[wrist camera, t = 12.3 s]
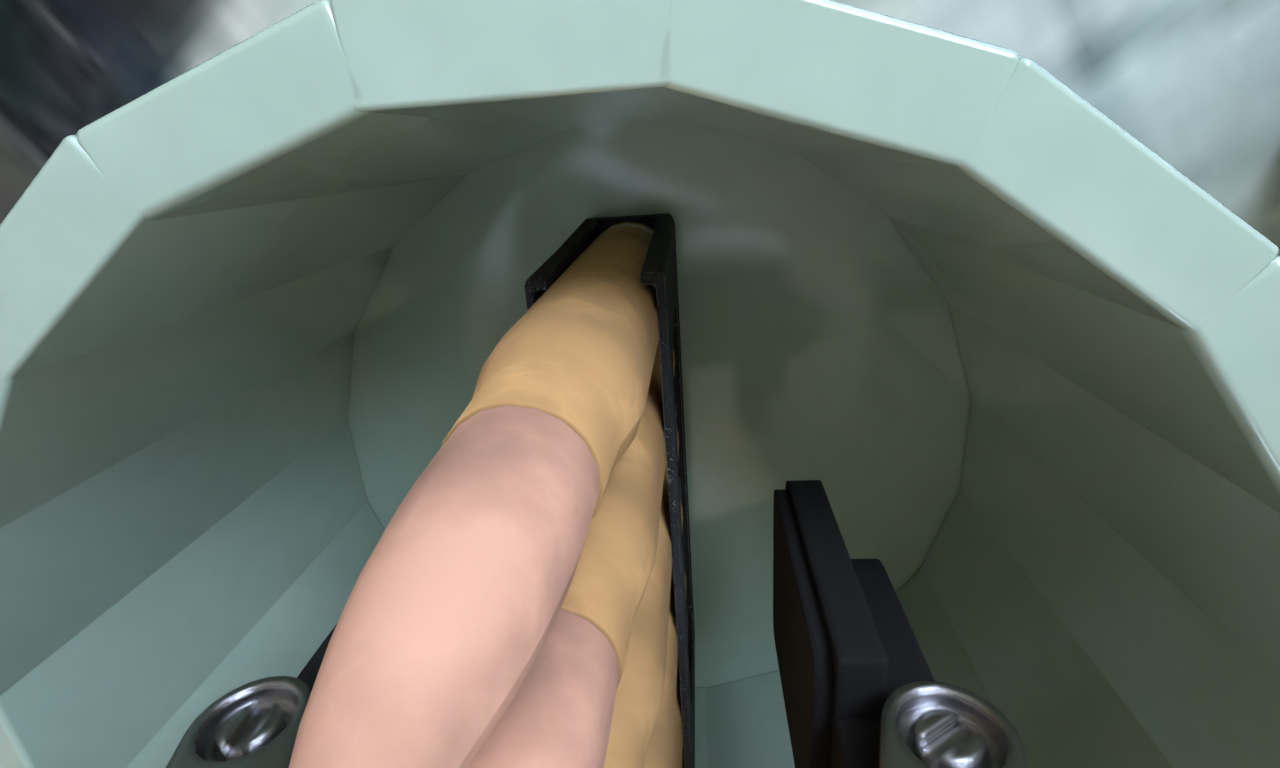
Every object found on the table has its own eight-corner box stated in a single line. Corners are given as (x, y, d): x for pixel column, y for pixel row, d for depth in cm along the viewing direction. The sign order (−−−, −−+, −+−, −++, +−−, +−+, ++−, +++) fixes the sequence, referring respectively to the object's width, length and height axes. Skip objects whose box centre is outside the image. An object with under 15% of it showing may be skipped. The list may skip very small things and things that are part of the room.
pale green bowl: (404, 683, 19) (176, 1111, 11) (259, 114, 14) (-445, 69, 5) (953, 687, 17) (1192, 1192, 9) (1037, 49, 12) (1825, -164, 4)
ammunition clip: (582, 218, 13) (-103, 688, 2) (673, 212, 13) (542, 692, 2) (623, 637, 17) (482, 1639, 6) (694, 637, 17) (697, 1674, 5)
